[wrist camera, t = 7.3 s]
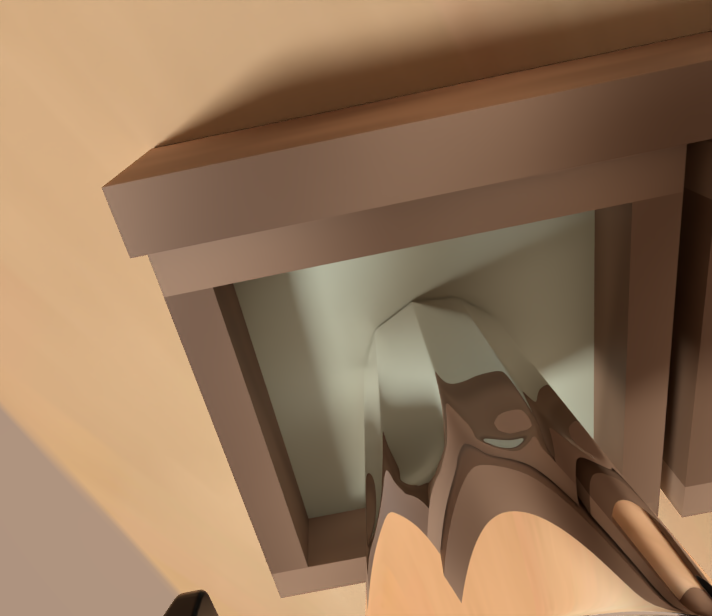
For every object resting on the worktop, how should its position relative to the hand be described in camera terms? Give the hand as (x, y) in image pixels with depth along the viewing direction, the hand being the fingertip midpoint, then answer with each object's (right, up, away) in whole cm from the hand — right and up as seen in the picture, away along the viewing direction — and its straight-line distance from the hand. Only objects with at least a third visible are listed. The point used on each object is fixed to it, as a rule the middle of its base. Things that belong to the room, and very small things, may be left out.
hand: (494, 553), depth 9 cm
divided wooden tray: (+4, +4, +5) cm, 8 cm away
